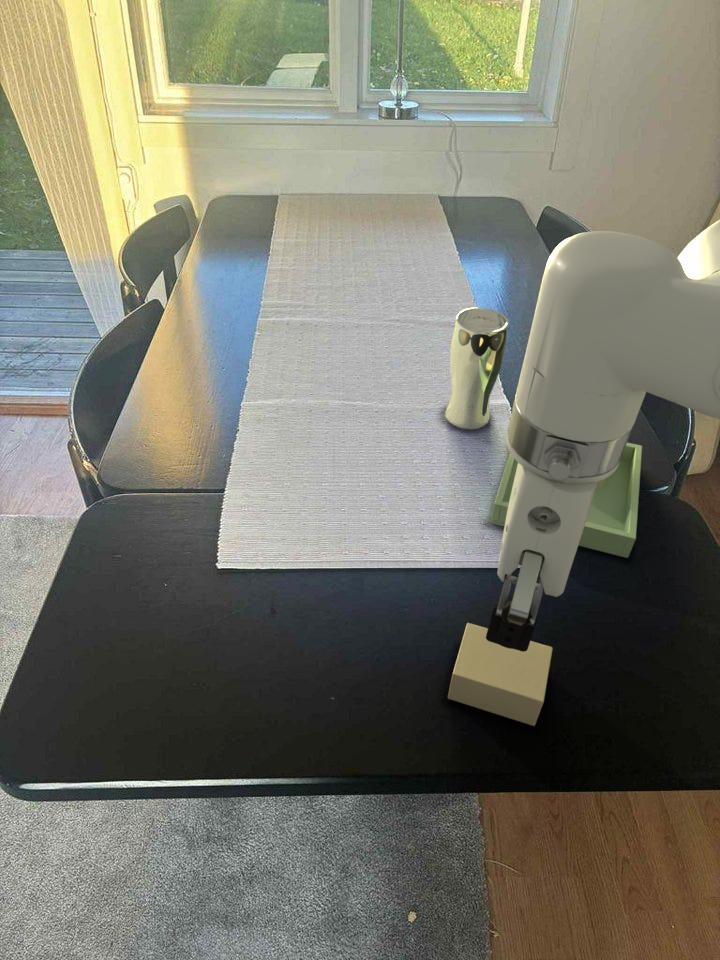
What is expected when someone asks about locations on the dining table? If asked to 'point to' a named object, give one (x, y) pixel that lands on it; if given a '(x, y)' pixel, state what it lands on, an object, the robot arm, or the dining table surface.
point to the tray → (597, 505)
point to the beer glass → (475, 365)
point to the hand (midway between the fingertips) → (516, 597)
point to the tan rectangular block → (500, 676)
